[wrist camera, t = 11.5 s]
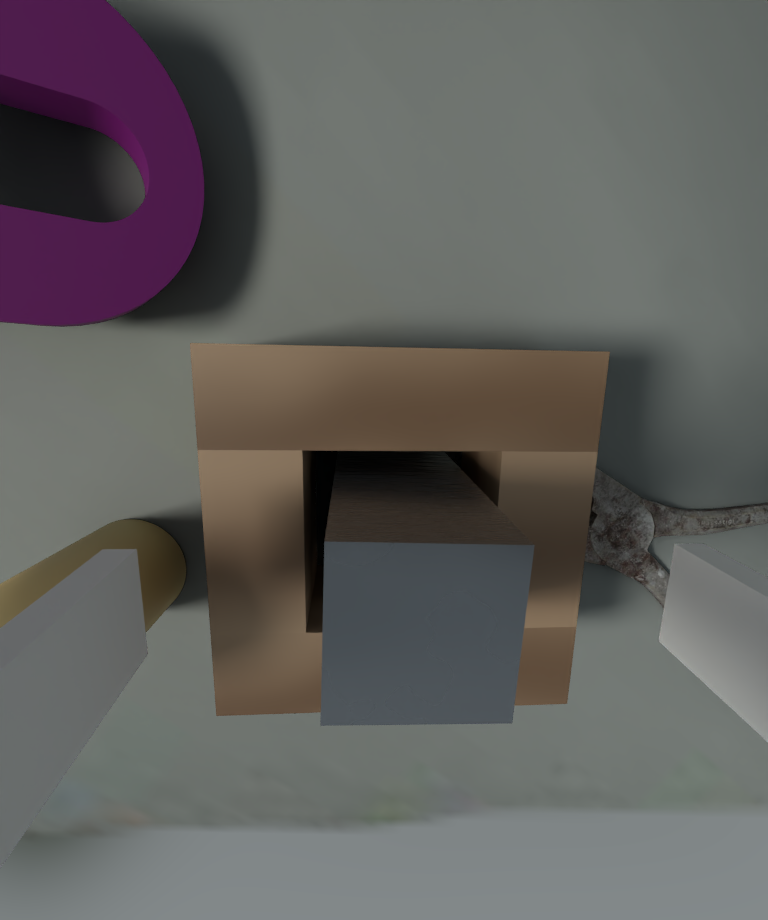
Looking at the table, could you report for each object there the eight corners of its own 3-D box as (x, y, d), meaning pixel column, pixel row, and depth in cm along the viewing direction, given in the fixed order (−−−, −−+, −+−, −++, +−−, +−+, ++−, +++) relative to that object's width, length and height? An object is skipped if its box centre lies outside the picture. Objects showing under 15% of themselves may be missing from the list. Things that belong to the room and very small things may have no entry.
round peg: (70, 528, 19) (-261, 693, 9) (172, 511, 19) (-45, 658, 9) (98, 622, 19) (-180, 871, 10) (196, 606, 19) (20, 838, 10)
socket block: (234, 346, 18) (190, 343, 13) (541, 353, 18) (610, 351, 14) (249, 629, 20) (216, 716, 15) (517, 623, 21) (567, 703, 16)
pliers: (834, 706, 23) (445, 652, 21) (817, 694, 24) (441, 640, 21) (919, 524, 21) (499, 441, 19) (897, 517, 22) (493, 437, 19)
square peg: (338, 445, 19) (324, 541, 9) (440, 448, 19) (534, 545, 9) (336, 542, 20) (320, 725, 10) (433, 543, 20) (512, 723, 10)
